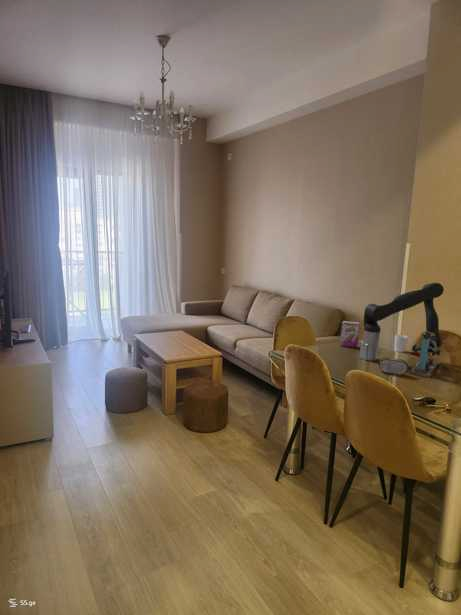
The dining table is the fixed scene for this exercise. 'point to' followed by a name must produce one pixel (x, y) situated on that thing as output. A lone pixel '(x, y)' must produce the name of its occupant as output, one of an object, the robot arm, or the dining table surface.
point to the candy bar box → (349, 334)
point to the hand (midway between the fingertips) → (424, 352)
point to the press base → (432, 367)
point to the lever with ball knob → (424, 354)
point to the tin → (393, 366)
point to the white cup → (400, 343)
